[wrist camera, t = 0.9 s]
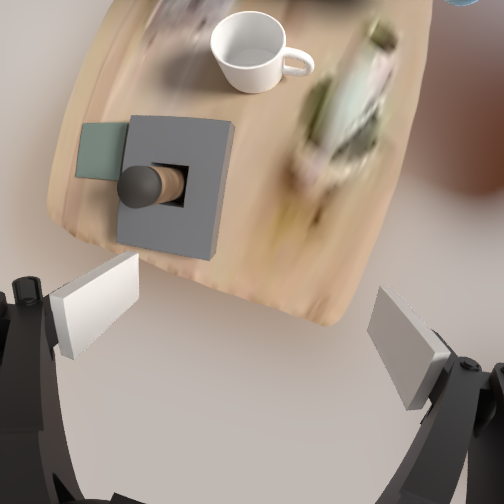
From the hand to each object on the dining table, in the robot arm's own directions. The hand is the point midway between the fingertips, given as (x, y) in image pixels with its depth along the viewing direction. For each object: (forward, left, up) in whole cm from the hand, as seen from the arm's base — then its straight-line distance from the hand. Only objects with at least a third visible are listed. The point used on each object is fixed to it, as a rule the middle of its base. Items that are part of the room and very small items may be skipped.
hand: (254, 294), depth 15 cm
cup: (-21, -4, -26) cm, 34 cm away
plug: (-3, -14, -26) cm, 29 cm away
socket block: (-3, -14, -26) cm, 29 cm away
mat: (-7, -28, -26) cm, 38 cm away
